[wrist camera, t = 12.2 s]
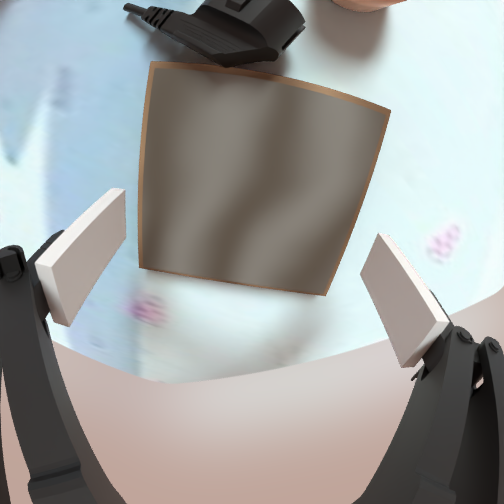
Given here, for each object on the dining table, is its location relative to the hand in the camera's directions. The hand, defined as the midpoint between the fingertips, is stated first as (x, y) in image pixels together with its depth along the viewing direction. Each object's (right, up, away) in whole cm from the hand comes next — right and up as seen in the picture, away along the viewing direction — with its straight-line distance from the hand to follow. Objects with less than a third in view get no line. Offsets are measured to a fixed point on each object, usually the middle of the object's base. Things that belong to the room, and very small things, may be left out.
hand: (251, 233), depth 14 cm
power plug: (-7, +19, -3) cm, 20 cm away
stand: (0, +4, +7) cm, 8 cm away
